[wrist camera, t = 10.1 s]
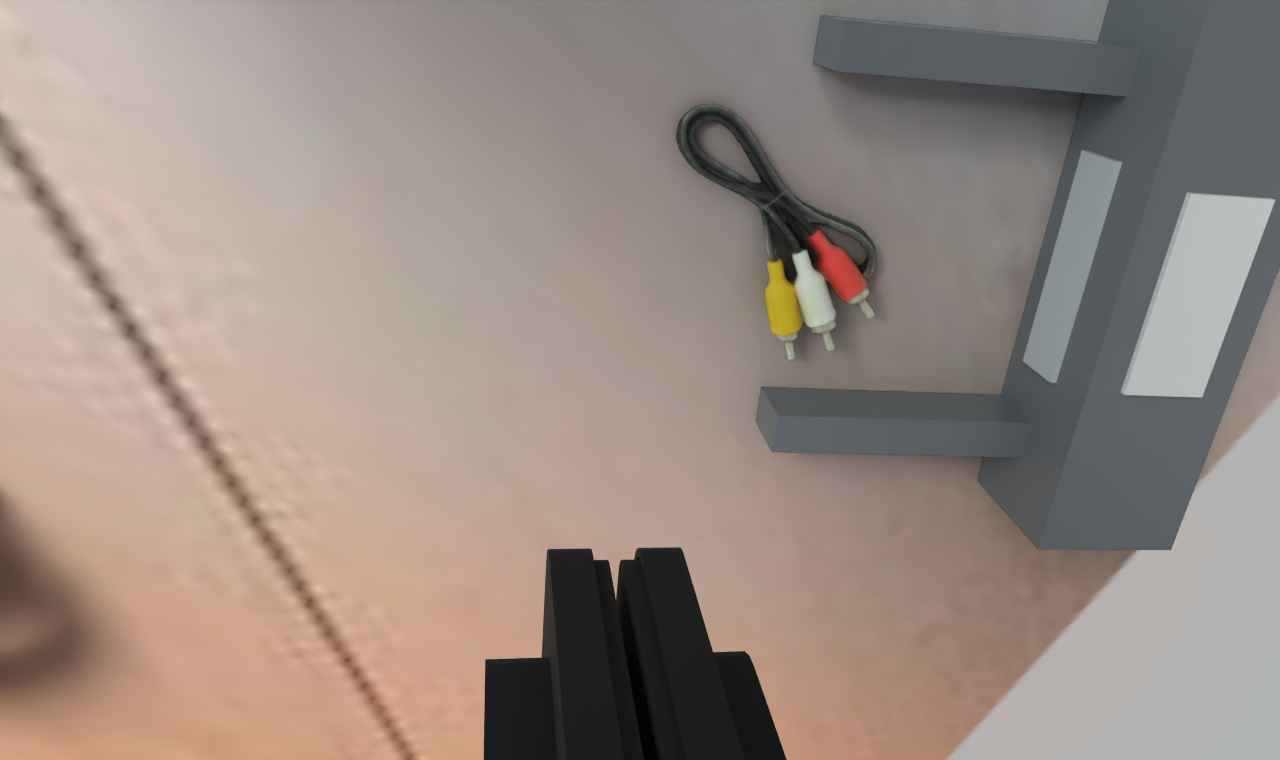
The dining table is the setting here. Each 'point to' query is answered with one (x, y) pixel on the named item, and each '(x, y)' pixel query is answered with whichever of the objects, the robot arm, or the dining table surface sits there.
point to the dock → (1098, 269)
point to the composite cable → (787, 238)
